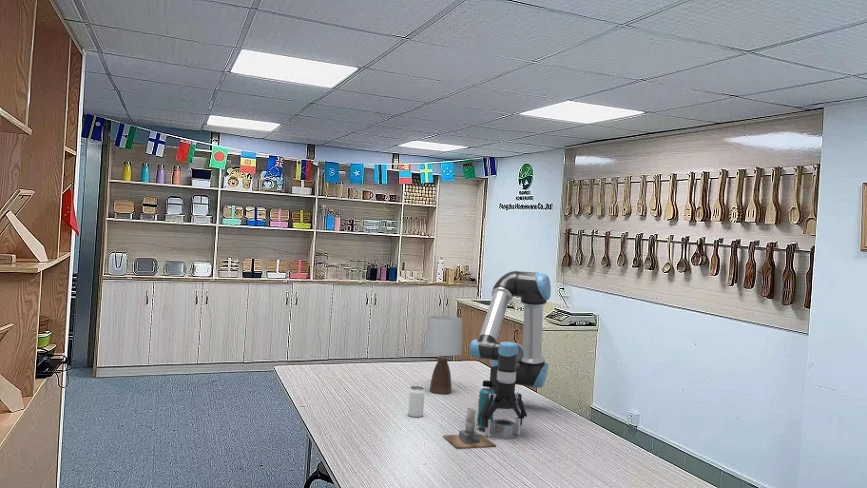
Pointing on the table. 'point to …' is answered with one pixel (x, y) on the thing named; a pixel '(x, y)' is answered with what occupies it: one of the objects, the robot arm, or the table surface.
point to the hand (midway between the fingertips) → (502, 434)
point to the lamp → (443, 349)
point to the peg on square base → (469, 435)
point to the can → (416, 401)
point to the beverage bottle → (484, 401)
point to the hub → (502, 429)
